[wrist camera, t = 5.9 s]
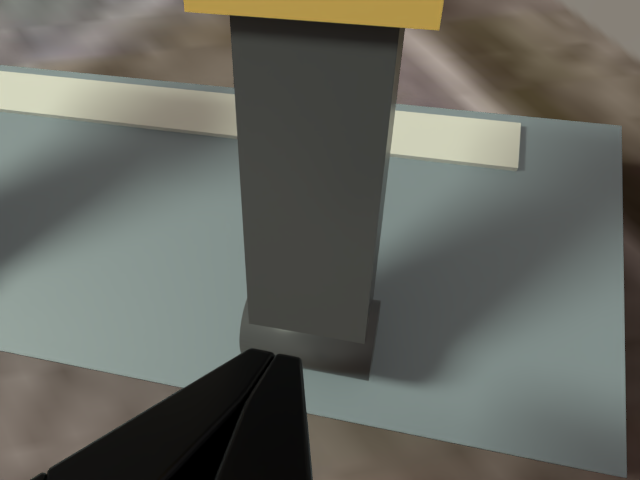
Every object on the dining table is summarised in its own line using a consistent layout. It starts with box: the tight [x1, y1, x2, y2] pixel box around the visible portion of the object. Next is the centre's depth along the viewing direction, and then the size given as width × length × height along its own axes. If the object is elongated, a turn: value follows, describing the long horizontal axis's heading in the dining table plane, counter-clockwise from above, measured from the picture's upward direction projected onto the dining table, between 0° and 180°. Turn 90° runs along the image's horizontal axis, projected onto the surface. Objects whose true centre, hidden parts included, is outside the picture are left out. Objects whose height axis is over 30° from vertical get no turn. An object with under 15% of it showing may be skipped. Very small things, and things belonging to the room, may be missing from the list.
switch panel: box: [0, 65, 627, 478], centre depth 17 cm, size 10×30×3 cm, turn 79°
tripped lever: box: [184, 0, 444, 381], centre depth 10 cm, size 2×4×11 cm
